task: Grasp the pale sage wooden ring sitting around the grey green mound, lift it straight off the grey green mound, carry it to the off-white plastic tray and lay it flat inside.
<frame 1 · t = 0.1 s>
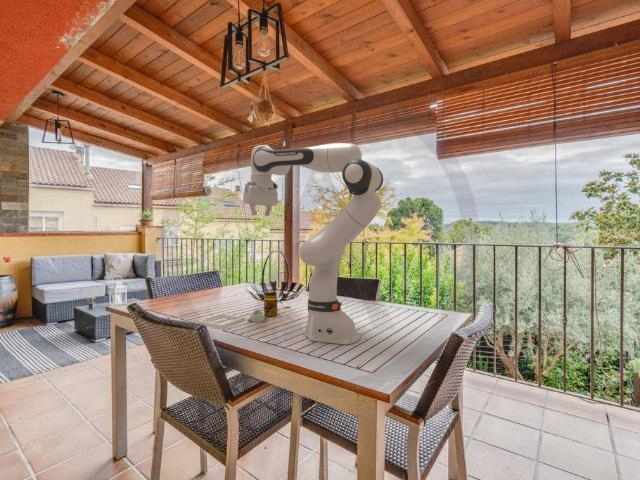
hand: (261, 215, 151), 48 cm above the table, fingers open, 8 cm apart
ring: (257, 319, 156), point 1 cm above the table, touching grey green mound
condiment: (270, 317, 165), on the table
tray: (221, 324, 151), on the table
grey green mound: (257, 321, 156), on the table
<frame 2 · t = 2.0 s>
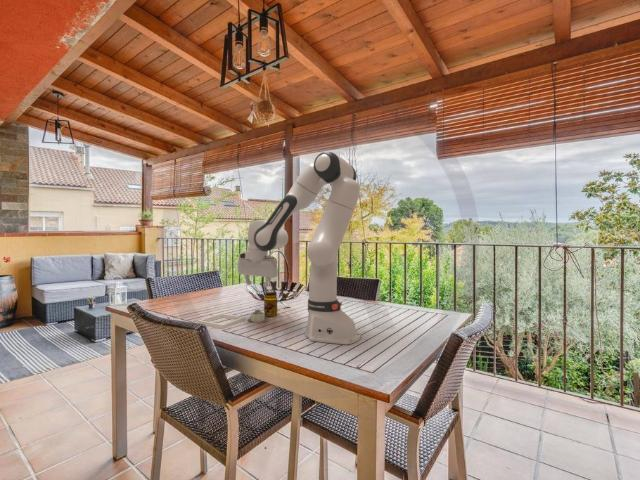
hand: (257, 285, 155), 16 cm above the table, fingers open, 8 cm apart
nothing on the table moved.
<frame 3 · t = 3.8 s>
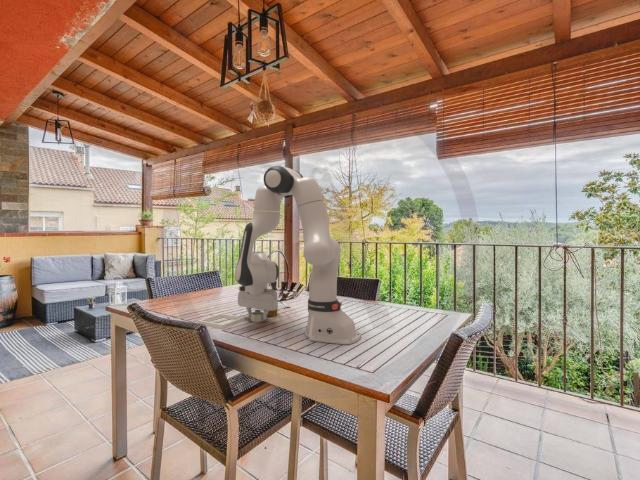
hand: (257, 318, 156), 2 cm above the table, fingers closed on ring, 6 cm apart
ring: (257, 319, 156), point 1 cm above the table, touching gripper, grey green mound
everything else where it was.
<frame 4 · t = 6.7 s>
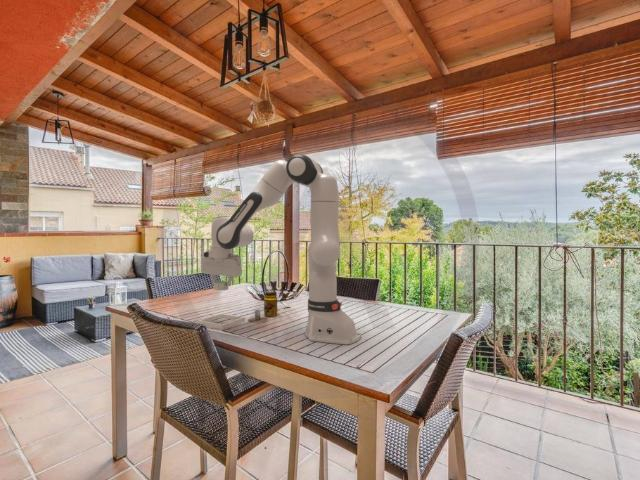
hand: (221, 285, 151), 17 cm above the table, fingers closed on ring, 6 cm apart
ring: (221, 288, 151), point 16 cm above the table, touching gripper
everything else where it was.
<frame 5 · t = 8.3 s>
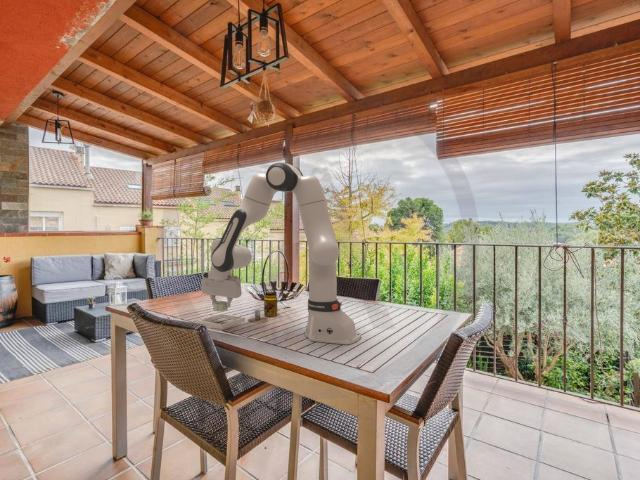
hand: (221, 305, 151), 8 cm above the table, fingers closed on ring, 6 cm apart
ring: (220, 309, 151), point 7 cm above the table, touching gripper
everything else where it was.
when the fingers open (3 cm above the table, at t = 9.8 s): ring stays where it is, resting on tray.
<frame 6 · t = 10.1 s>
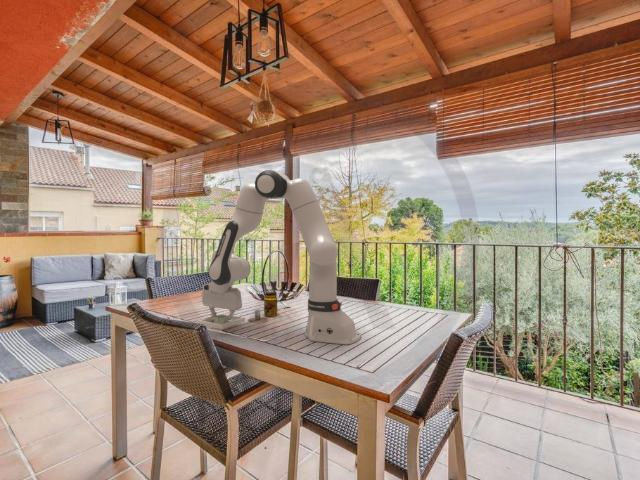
hand: (221, 317, 151), 3 cm above the table, fingers open, 8 cm apart
ring: (221, 323, 151), point 1 cm above the table, touching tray
everything else where it was.
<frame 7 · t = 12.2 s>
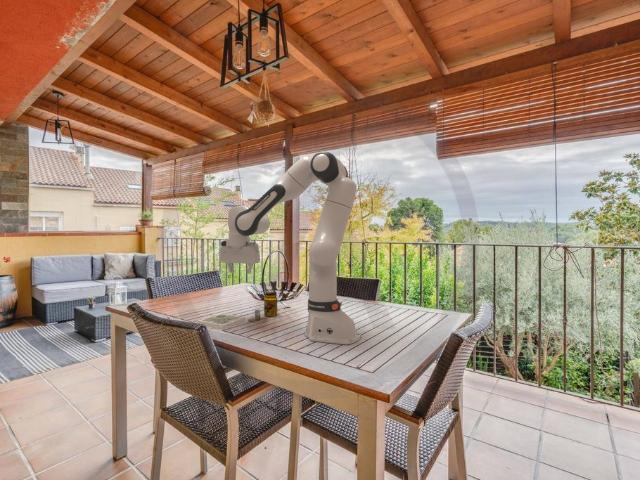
hand: (240, 273, 153), 22 cm above the table, fingers open, 8 cm apart
nothing on the table moved.
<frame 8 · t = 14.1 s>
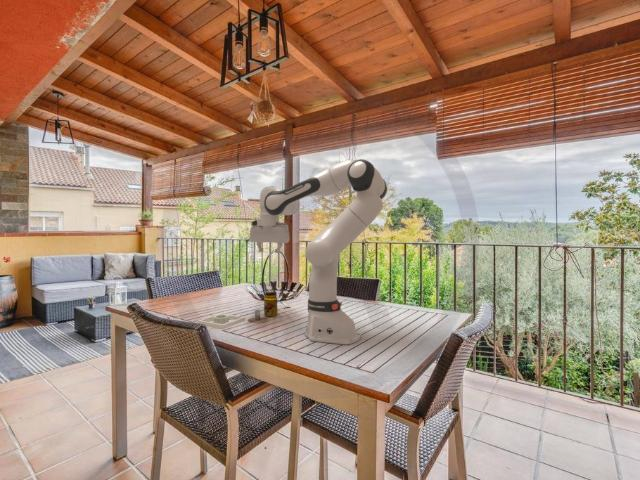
hand: (269, 252, 159), 31 cm above the table, fingers open, 8 cm apart
nothing on the table moved.
at the end: ring inside the target area on the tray (0.4 cm from its centre), point 0.6 cm above the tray's base; ring tilted 0°; the gripper is holding nothing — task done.
